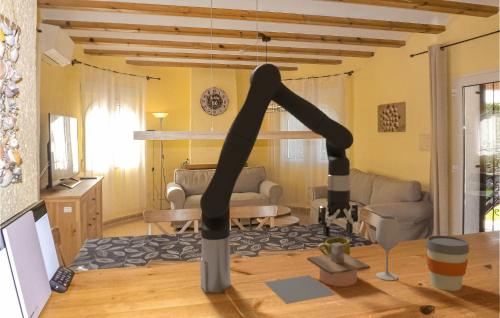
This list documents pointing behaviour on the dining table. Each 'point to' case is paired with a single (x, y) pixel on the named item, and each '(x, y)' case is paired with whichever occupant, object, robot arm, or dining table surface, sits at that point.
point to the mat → (299, 289)
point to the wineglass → (387, 241)
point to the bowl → (339, 278)
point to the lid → (338, 261)
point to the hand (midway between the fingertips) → (338, 235)
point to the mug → (335, 240)
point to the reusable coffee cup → (447, 261)
